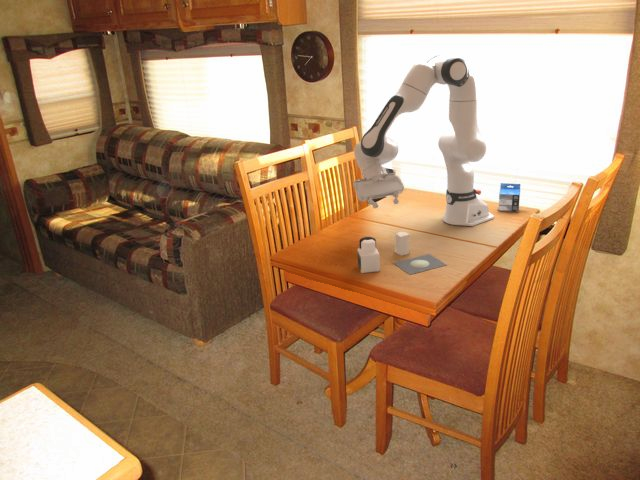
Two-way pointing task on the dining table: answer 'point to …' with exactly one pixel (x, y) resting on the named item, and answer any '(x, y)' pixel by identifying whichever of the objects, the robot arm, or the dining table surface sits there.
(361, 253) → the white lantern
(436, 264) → the slate pad
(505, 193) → the label tape cartridge
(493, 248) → the dining table surface
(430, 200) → the dining table surface
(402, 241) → the white block
